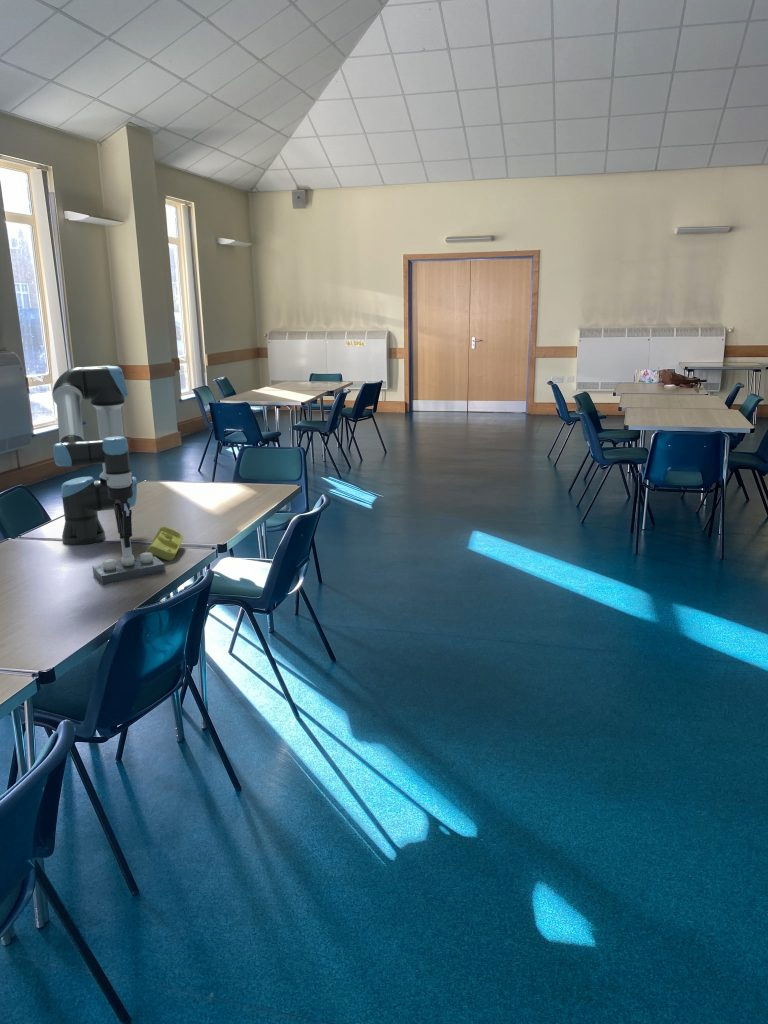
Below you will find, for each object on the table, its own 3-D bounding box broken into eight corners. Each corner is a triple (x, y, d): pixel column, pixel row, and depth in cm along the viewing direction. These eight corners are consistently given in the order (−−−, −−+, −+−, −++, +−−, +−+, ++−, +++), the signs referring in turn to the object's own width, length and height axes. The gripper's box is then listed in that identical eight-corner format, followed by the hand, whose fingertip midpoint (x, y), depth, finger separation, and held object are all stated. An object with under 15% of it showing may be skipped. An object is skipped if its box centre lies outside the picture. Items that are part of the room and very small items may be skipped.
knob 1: (102, 576, 245) (100, 560, 243) (115, 573, 247) (113, 558, 245) (105, 579, 241) (104, 564, 240) (118, 577, 243) (116, 561, 242)
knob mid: (121, 571, 248) (119, 556, 246) (133, 569, 250) (132, 554, 248) (124, 574, 244) (123, 559, 243) (137, 572, 247) (135, 557, 245)
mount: (93, 574, 247) (92, 566, 246) (154, 563, 257) (153, 554, 257) (102, 585, 237) (101, 576, 236) (165, 572, 248) (164, 563, 247)
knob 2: (139, 568, 251) (138, 553, 250) (151, 566, 253) (150, 551, 252) (143, 572, 248) (141, 556, 246) (155, 569, 250) (153, 554, 248)
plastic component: (175, 555, 258) (147, 544, 256) (167, 573, 260) (139, 562, 258) (185, 534, 277) (159, 524, 275) (178, 551, 279) (152, 541, 277)
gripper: (102, 483, 243) (110, 553, 249) (113, 490, 232) (121, 563, 238) (125, 480, 247) (133, 549, 253) (137, 487, 236) (144, 558, 242)
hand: (127, 556), depth 246 cm, fingers closed
